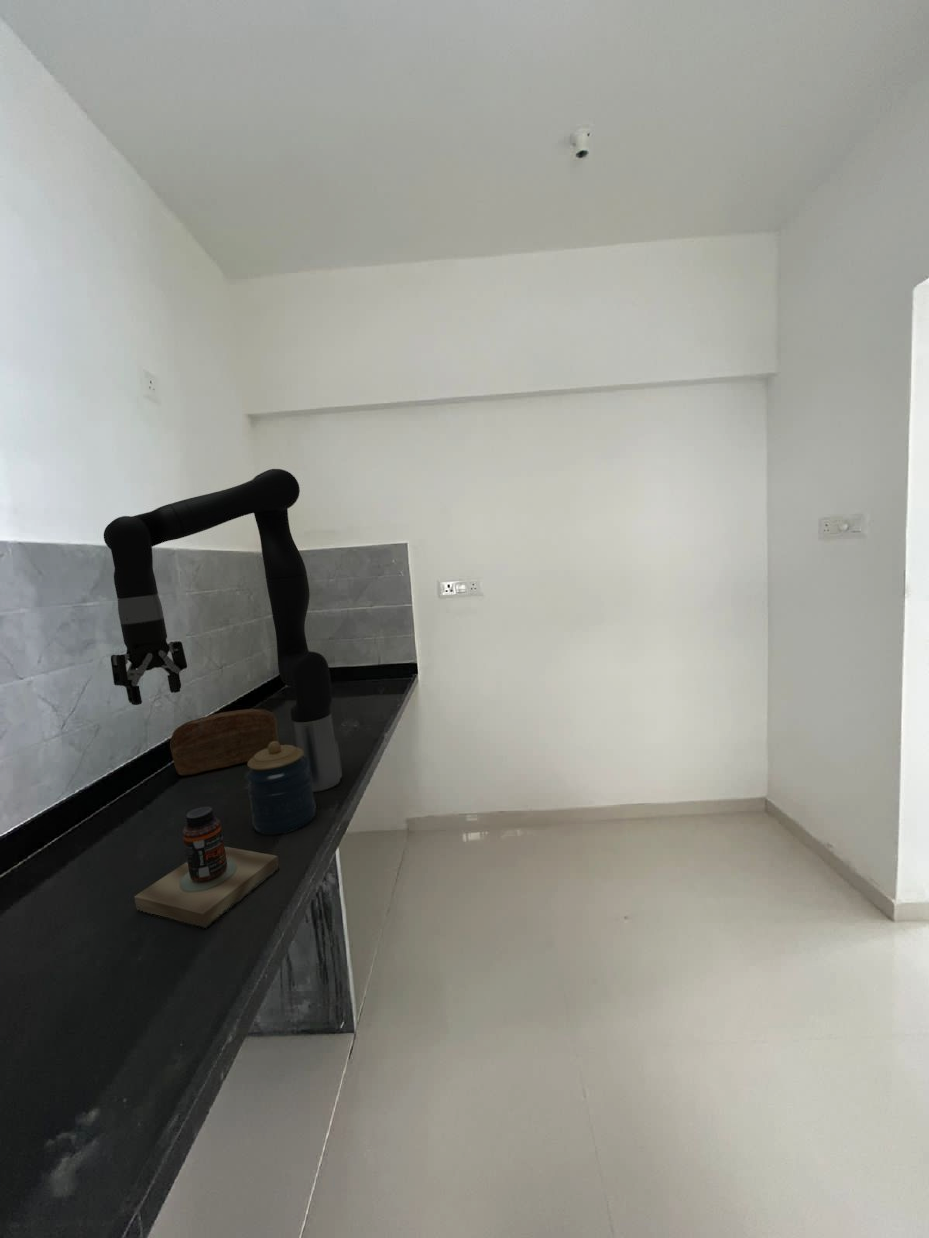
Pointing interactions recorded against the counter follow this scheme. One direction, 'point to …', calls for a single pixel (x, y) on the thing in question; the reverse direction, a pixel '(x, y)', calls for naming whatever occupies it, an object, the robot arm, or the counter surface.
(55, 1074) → the counter surface
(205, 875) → the supplement bottle
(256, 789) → the canister
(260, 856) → the oak board
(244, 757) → the bread
